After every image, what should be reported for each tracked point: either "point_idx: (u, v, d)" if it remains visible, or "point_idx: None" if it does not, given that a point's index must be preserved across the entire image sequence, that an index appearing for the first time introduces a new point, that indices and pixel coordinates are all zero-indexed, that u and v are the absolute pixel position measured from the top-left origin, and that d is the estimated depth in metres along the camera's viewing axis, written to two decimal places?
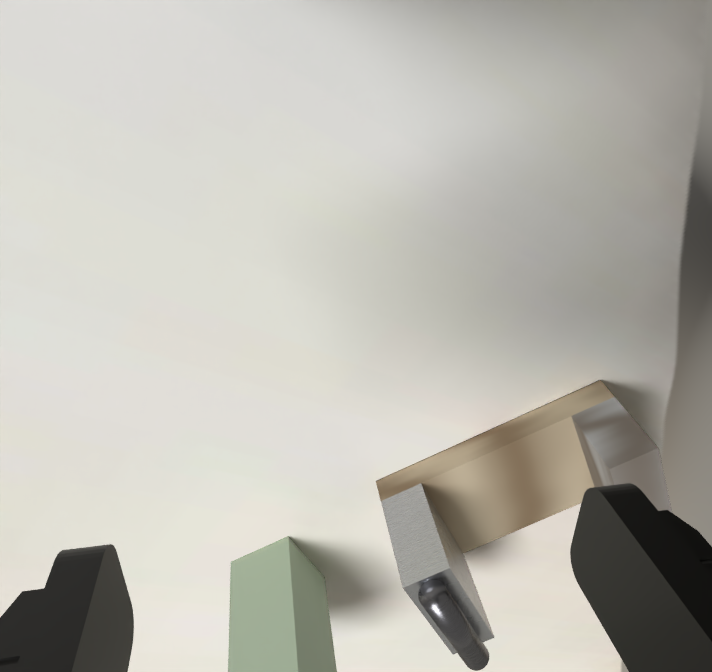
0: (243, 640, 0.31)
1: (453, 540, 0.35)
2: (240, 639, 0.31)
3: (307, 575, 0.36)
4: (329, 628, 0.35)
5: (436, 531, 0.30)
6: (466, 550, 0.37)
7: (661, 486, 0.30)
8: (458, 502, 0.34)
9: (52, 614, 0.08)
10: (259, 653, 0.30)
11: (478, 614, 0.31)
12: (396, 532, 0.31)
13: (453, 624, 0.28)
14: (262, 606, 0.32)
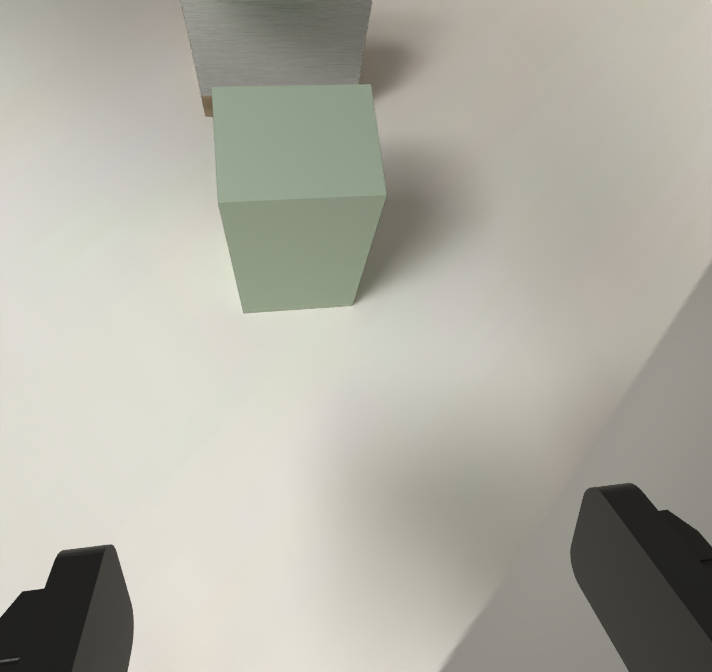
0: None
1: None
2: None
3: None
4: None
5: None
6: None
7: None
8: None
9: (52, 614, 0.08)
10: None
11: None
12: None
13: None
14: None
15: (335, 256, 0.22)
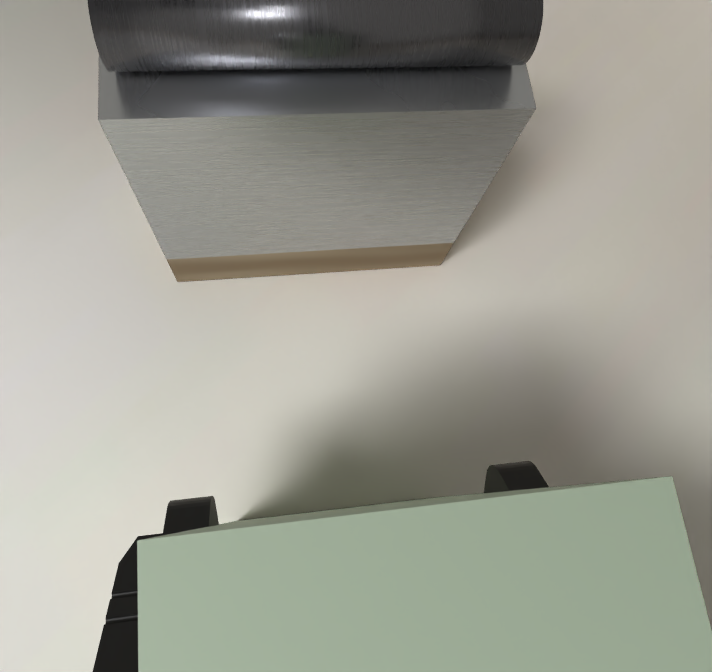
0: None
1: None
2: None
3: None
4: (461, 495, 0.12)
5: None
6: None
7: None
8: None
9: None
10: None
11: None
12: None
13: None
14: None
15: None
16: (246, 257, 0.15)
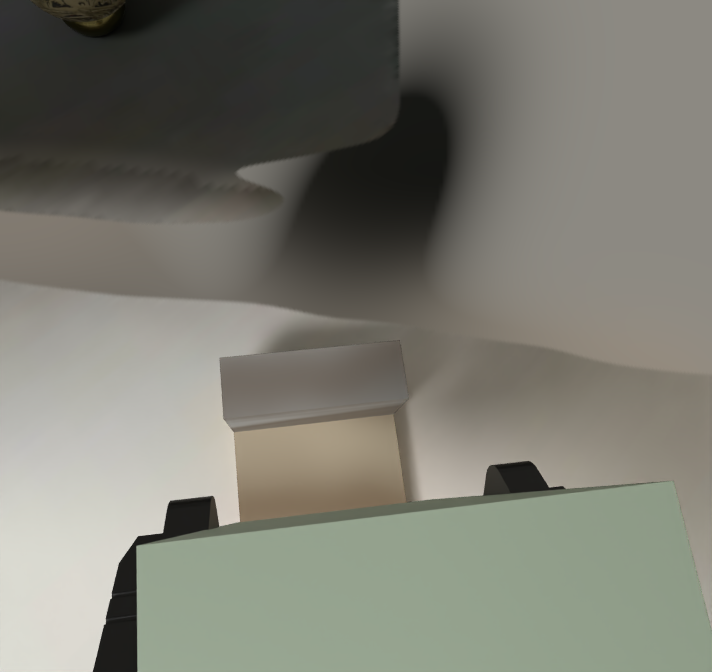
0: None
1: None
2: None
3: (334, 511, 0.14)
4: (462, 497, 0.12)
5: None
6: None
7: (293, 356, 0.24)
8: None
9: None
10: None
11: None
12: None
13: None
14: None
15: None
16: None
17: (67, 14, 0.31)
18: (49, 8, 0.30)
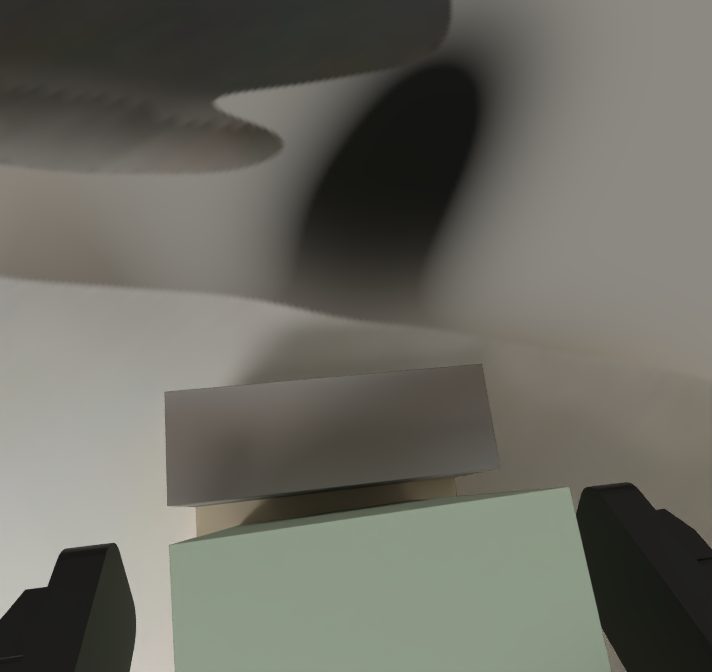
0: None
1: None
2: None
3: (324, 513, 0.15)
4: None
5: None
6: None
7: (297, 390, 0.14)
8: None
9: (55, 612, 0.08)
10: None
11: None
12: None
13: None
14: None
15: None
16: None
17: None
18: None
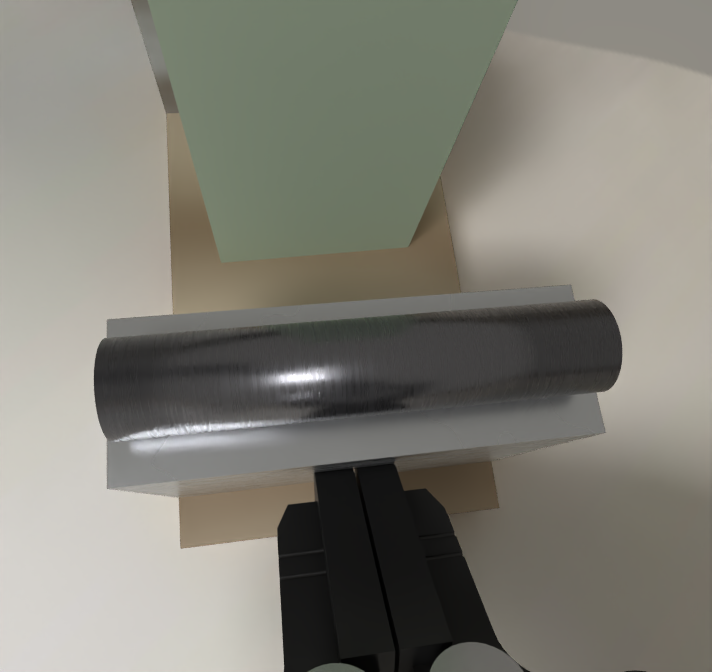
0: None
1: None
2: None
3: None
4: None
5: None
6: None
7: None
8: None
9: (334, 516, 0.09)
10: None
11: (413, 300, 0.09)
12: None
13: (256, 350, 0.08)
14: None
15: (403, 113, 0.10)
16: (269, 536, 0.14)
17: None
18: None
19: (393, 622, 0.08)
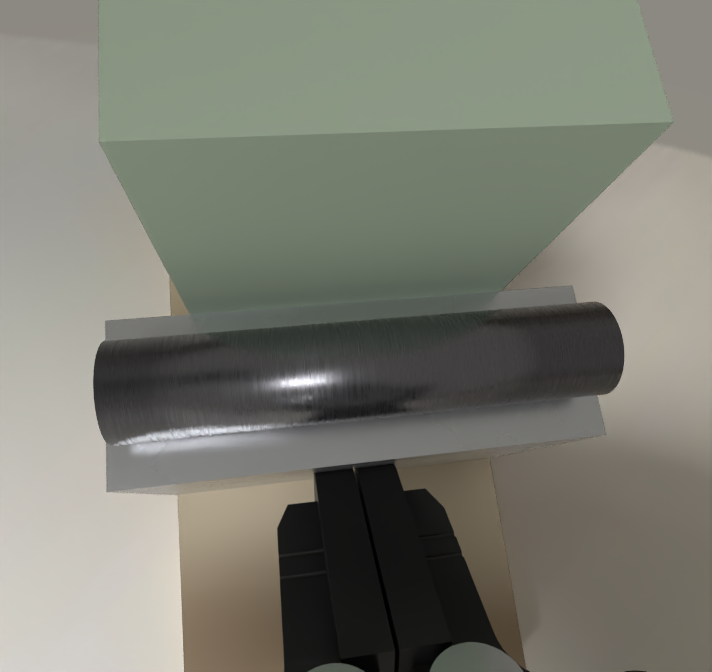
0: None
1: None
2: None
3: None
4: None
5: None
6: (499, 554, 0.14)
7: None
8: None
9: (334, 516, 0.09)
10: None
11: (414, 301, 0.09)
12: None
13: (257, 354, 0.07)
14: None
15: (431, 292, 0.09)
16: None
17: None
18: None
19: (393, 622, 0.08)
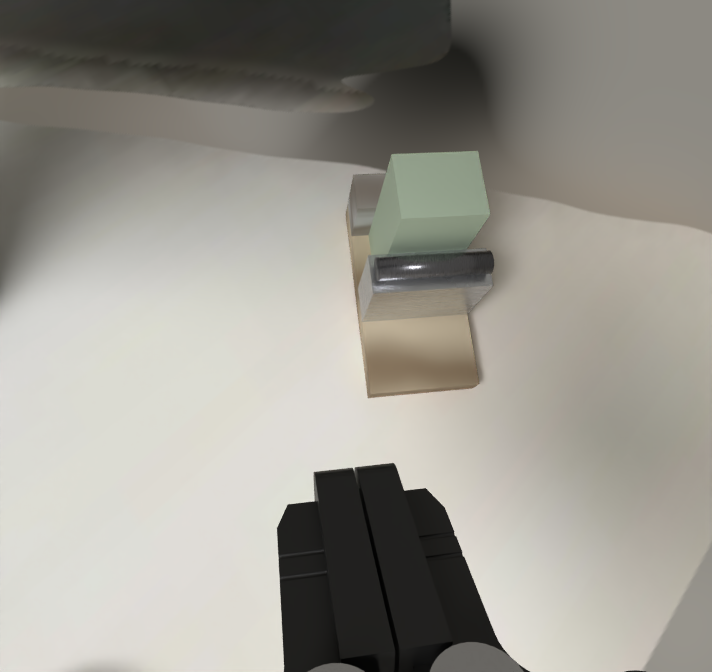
0: (385, 241, 0.36)
1: None
2: (385, 245, 0.36)
3: None
4: None
5: (363, 270, 0.37)
6: (470, 344, 0.40)
7: None
8: (403, 335, 0.40)
9: (334, 516, 0.09)
10: (386, 219, 0.35)
11: (443, 251, 0.36)
12: (365, 305, 0.38)
13: (410, 259, 0.34)
14: (379, 234, 0.38)
15: (448, 249, 0.36)
16: (399, 391, 0.39)
17: None
18: None
19: (393, 622, 0.08)
